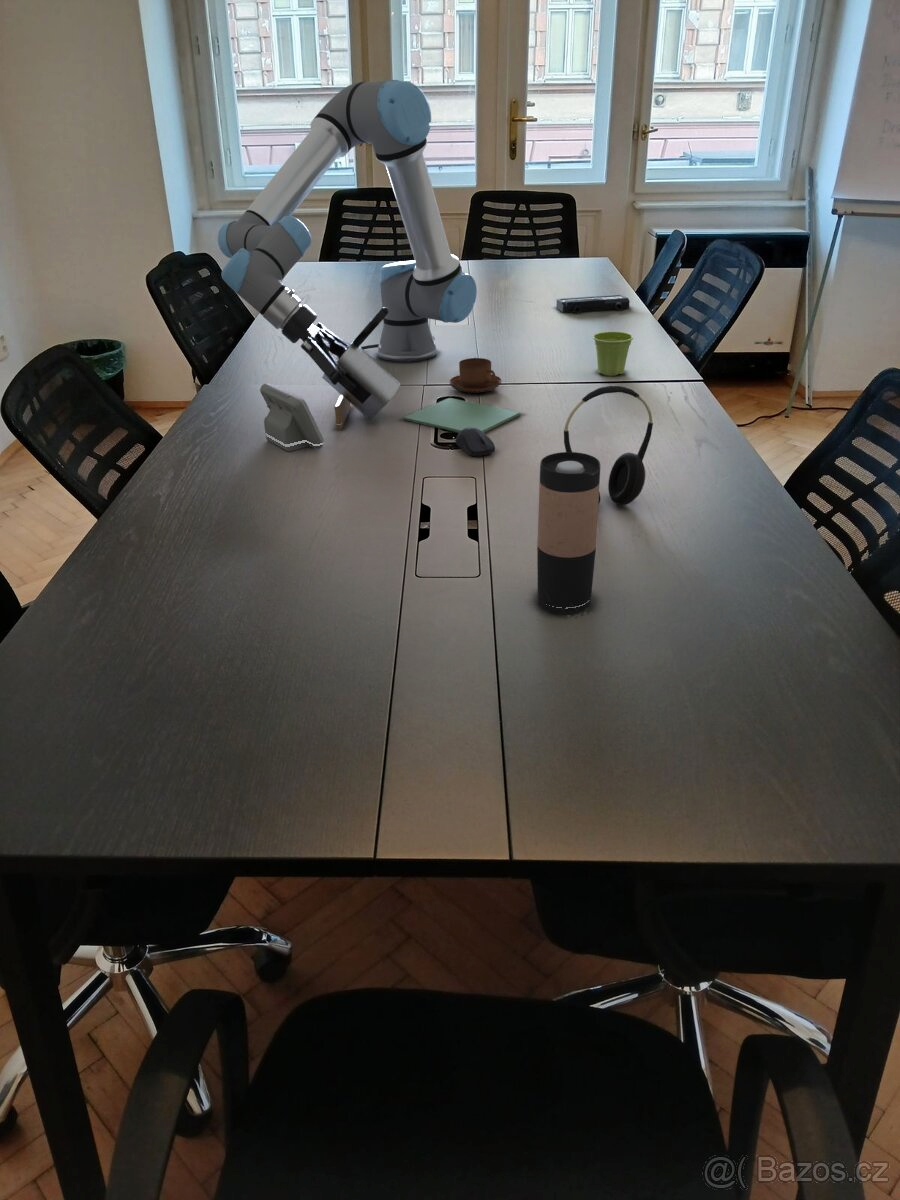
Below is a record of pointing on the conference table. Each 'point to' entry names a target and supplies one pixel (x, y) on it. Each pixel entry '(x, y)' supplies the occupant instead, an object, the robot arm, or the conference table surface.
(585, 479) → the travel mug
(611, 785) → the conference table surface
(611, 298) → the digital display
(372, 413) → the pot
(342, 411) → the wooden block
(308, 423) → the digital clock
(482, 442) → the computer mouse
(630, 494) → the headphones
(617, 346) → the plant pot
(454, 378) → the cup and saucer
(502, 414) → the mat
